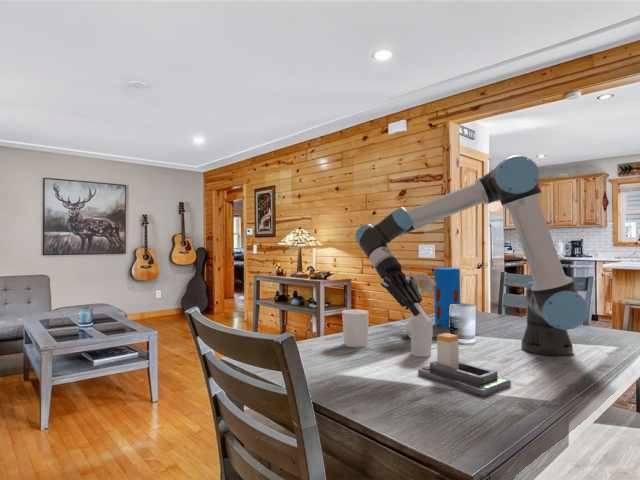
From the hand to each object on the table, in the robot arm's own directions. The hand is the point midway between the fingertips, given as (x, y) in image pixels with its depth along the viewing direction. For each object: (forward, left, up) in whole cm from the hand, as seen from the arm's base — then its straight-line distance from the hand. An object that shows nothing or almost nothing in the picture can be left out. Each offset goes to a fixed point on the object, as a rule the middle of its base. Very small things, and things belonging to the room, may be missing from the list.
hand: (426, 323), depth 117 cm
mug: (+1, -17, -14) cm, 21 cm away
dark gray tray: (-9, +7, -13) cm, 18 cm away
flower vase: (+4, -41, -14) cm, 43 cm away
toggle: (-6, +5, -12) cm, 14 cm away
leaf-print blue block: (-9, -65, -14) cm, 67 cm away
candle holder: (+25, -24, -14) cm, 37 cm away
